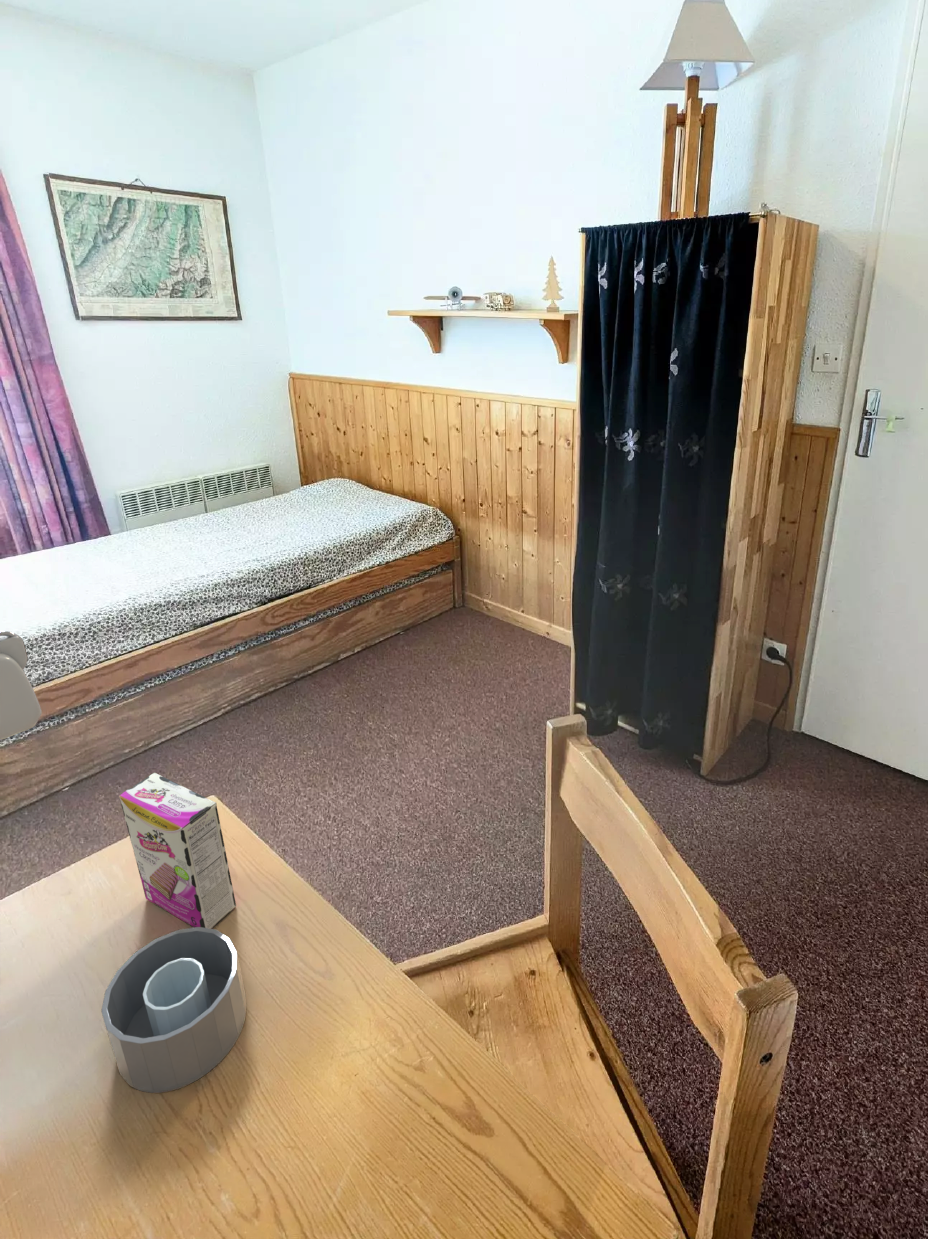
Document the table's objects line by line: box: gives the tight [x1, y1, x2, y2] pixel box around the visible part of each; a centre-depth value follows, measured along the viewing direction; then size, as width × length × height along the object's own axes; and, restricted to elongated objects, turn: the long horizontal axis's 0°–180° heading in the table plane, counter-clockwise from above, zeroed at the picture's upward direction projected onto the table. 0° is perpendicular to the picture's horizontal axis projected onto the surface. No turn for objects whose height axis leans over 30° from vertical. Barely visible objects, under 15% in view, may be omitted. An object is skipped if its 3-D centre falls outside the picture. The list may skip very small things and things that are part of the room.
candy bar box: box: [118, 772, 237, 929], centre depth 81 cm, size 11×5×16 cm, turn 63°
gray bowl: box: [100, 927, 247, 1094], centre depth 68 cm, size 12×12×7 cm
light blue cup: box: [143, 958, 211, 1036], centre depth 68 cm, size 5×6×6 cm
